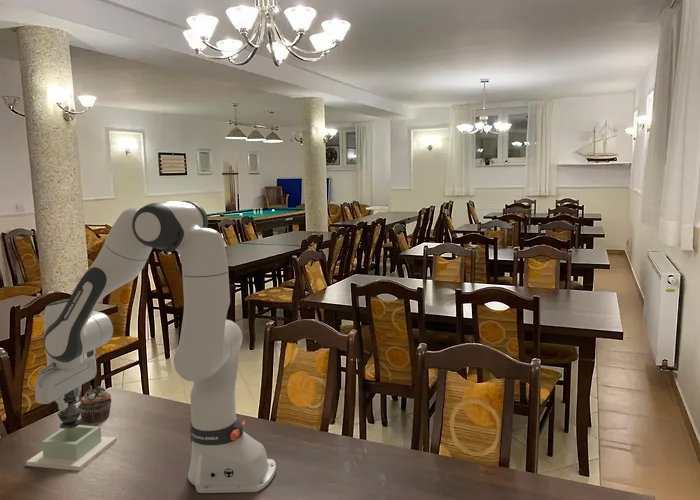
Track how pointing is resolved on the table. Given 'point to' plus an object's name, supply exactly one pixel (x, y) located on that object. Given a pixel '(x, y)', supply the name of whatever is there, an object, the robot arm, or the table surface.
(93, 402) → the cupcake
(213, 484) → the robot arm
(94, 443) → the stand
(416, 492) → the table surface
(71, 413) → the dark chess piece
